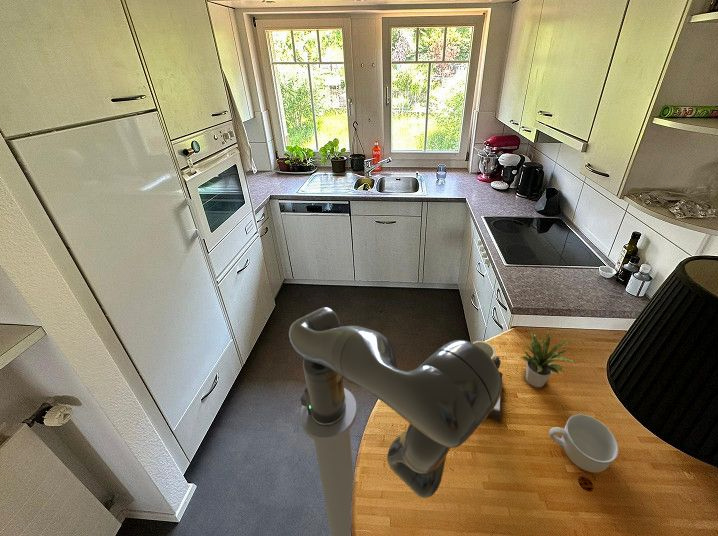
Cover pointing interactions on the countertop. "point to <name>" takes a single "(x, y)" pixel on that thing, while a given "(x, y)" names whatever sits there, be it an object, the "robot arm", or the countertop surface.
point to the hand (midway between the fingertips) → (484, 352)
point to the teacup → (587, 442)
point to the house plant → (542, 361)
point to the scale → (496, 410)
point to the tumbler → (486, 348)
